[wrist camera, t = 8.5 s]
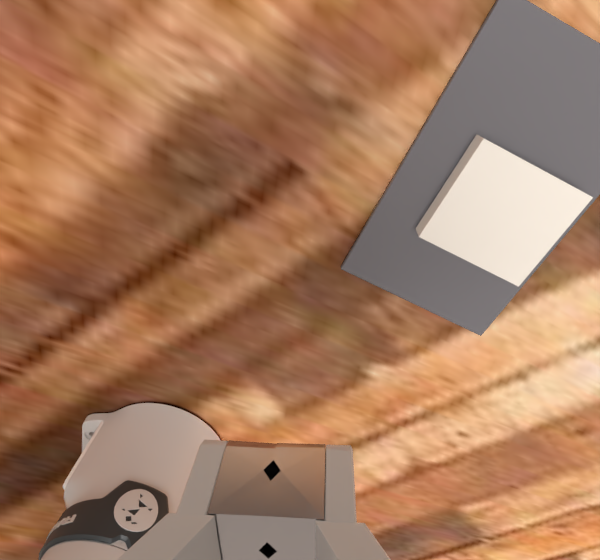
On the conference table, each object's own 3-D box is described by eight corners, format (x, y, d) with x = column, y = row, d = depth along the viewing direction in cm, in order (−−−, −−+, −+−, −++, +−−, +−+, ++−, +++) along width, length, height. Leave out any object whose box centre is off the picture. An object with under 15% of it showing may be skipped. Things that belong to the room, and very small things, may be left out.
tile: (415, 227, 35) (510, 275, 36) (418, 236, 33) (518, 286, 34) (475, 133, 31) (579, 189, 32) (483, 138, 29) (593, 197, 30)
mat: (479, 332, 39) (480, 335, 39) (341, 266, 37) (340, 268, 37) (678, 92, 29) (684, 93, 29) (502, -11, 28) (505, -12, 27)
